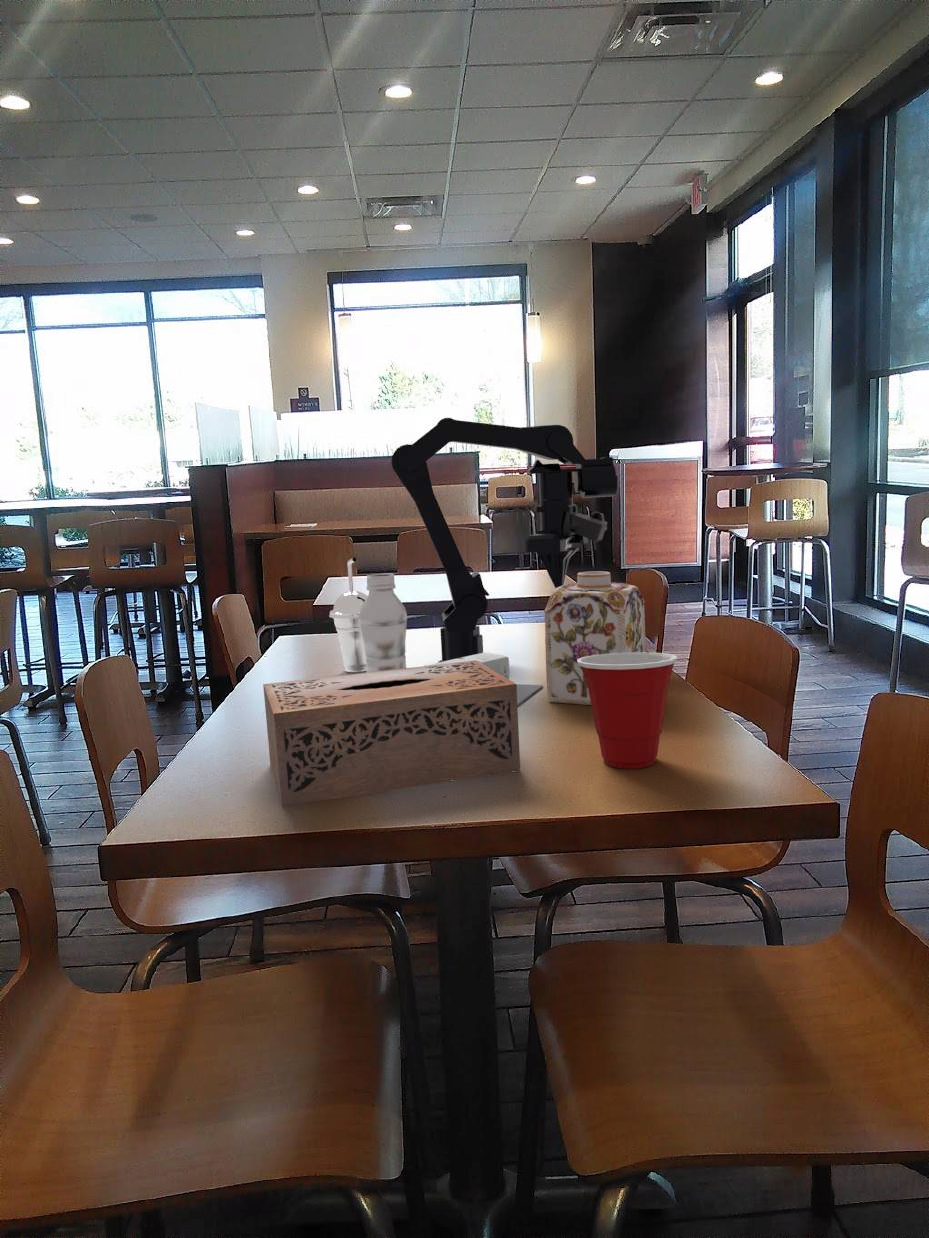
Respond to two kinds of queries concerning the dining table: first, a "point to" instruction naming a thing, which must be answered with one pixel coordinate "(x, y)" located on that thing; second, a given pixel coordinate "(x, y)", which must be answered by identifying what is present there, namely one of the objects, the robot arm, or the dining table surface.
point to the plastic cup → (628, 704)
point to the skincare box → (486, 662)
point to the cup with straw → (350, 626)
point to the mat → (526, 692)
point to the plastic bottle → (383, 625)
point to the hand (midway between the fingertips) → (559, 588)
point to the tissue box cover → (390, 730)
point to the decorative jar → (589, 630)
